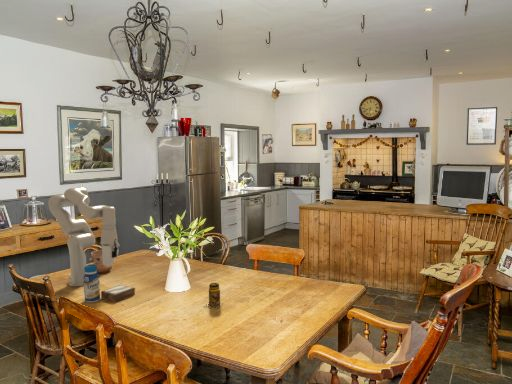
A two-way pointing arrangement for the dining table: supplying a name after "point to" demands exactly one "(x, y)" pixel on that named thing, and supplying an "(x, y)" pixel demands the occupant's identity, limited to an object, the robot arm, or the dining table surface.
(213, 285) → the condiment
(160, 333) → the dining table surface
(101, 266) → the ceramic jug
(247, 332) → the dining table surface
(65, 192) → the robot arm
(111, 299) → the walnut picture frame
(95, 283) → the beverage bottle
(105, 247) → the mug
